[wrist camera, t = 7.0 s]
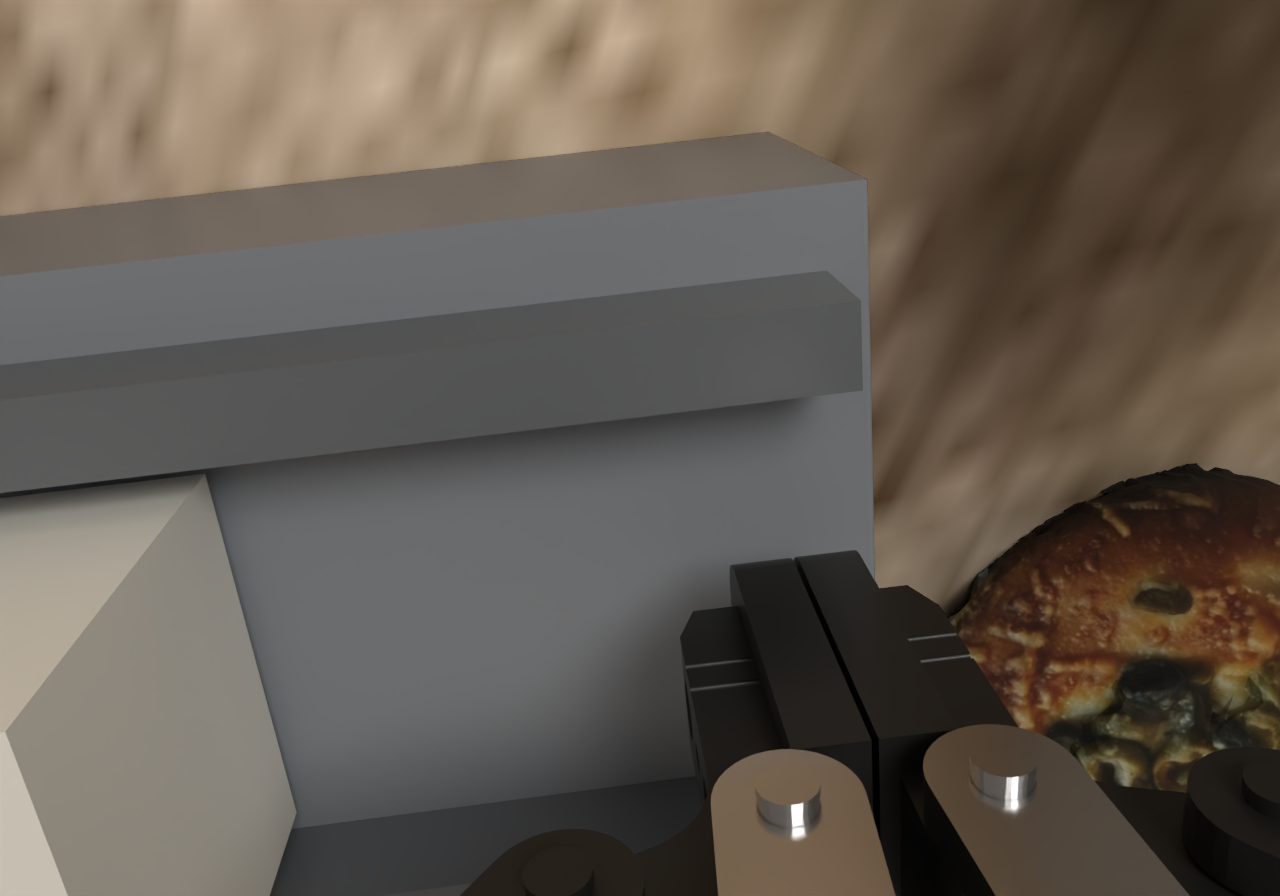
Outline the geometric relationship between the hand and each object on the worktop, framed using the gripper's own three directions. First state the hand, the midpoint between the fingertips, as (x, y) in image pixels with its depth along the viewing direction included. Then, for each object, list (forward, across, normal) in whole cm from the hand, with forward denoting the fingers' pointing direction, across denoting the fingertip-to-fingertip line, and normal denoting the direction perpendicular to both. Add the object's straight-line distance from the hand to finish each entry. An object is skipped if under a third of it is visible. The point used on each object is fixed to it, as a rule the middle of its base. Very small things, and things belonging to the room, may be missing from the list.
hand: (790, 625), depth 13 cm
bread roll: (+8, -9, +8) cm, 14 cm away
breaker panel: (+7, +5, +5) cm, 10 cm away
